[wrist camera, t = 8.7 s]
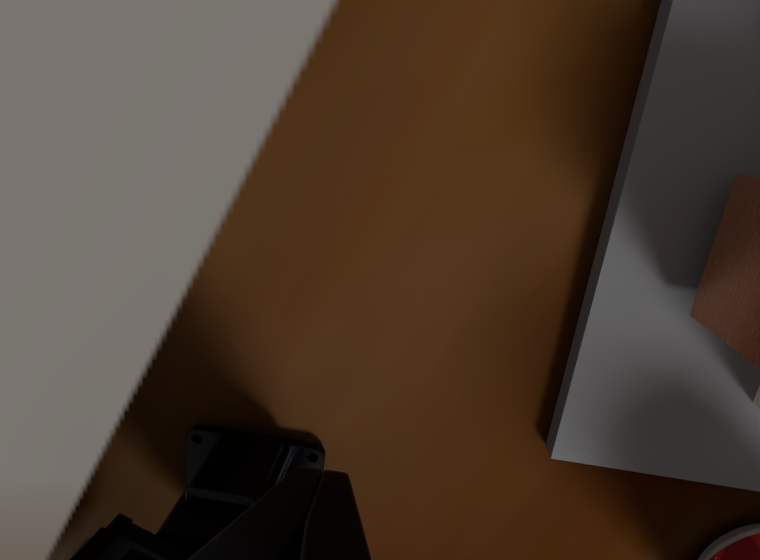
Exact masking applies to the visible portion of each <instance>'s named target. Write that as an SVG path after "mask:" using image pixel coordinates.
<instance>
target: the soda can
mask: <svg viewBox="0 0 760 560" xmlns="http://www.w3.org/2000/svg"><path fill="white" fill-rule="evenodd" d="M698 560H760V523H756V524H750V525H746V526H743V527H740V528H737V529H734V530H732V531H730V532H728V533H726V534H724V535H722V536H721V537H719V538H717V539H716V540H715V541H714V542H712V543H711V544H710V545H709V546H708V547H707V548H706V549H705V550H704V551H703V553H702V554H701V555H700V557H699V558H698Z"/></svg>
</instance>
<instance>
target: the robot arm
mask: <svg viewBox="0 0 760 560" xmlns="http://www.w3.org/2000/svg"><path fill="white" fill-rule="evenodd" d="M196 434H197V435H200V437H201V438H202V439H200V438H198V437H197V436H196ZM310 453H314V454H316V455H317V456H318V457H313V456H311V455H310ZM324 462H325V450H324V448H323V447H322V446H320V445H319V444H316V443H309V442H303V441H297V440H291V439H285V438H279V437H274V436H268V435H262V434H256V433H250V432H243V431H237V430H231V429H223V428H216V427H210V426H204V425H195V426H193V427H192V428H191V430H190V431H189V432H188V433H187V437H186V483H187V488H186V489H185V491H184V492H183V494H182V495H181V497H180V498H179V500H178V501H177V503H176V504H175V506H174V507H173V509H172V510H171V512H170V513H169V515H168V516H167V518H166V519H165V521H164V522H163V524H162V525H161V527H160V528H159V530H158V531H157V533H156V534H153V533H151V532H149V531H147V530H145V529H143V528H141V527H139V526H137V525H135V524H133V523H132V521H133V520H132V519H130V518H128V517H126V516H124V515H122V514H119V515H118V516H117V517H116V518H115V519H114V520H113V521H112V522H111V523H110V524H109V525H108V526H107V527H106V528H103V527H101V528H100V529H99V530H98V531H97V532H96V533H95V534H94V536H93V537H92V538H90V539H86V540H85V541H84V542H83V544H82V545H81V546H80V547H79V548H78V550H77V551H76V552H75V553H74V555H73V556H72V557H71V558H70V559H69V560H371V556H370V552H369V549H368V545H367V541H366V538H365V534H364V530H363V526H362V523H361V519H360V515H359V512H358V508H357V504H356V501H355V497H354V493H353V490H352V486H351V482H350V479H349V476H348V474H347V473H344V472H338V471H332V470H325V471H324Z"/></svg>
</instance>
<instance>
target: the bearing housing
mask: <svg viewBox="0 0 760 560" xmlns="http://www.w3.org/2000/svg"><path fill="white" fill-rule="evenodd" d="M736 174H741V175H749V176H757V177H760V0H661V3H660V7H659V11H658V15H657V19H656V22H655V26H654V30H653V34H652V38H651V42H650V46H649V49H648V53H647V57H646V61H645V65H644V69H643V72H642V76H641V80H640V84H639V88H638V92H637V95H636V99H635V103H634V107H633V111H632V115H631V119H630V122H629V126H628V130H627V134H626V138H625V142H624V145H623V149H622V153H621V157H620V161H619V165H618V169H617V172H616V176H615V180H614V184H613V188H612V192H611V195H610V199H609V203H608V207H607V211H606V215H605V219H604V222H603V226H602V230H601V234H600V238H599V242H598V245H597V249H596V253H595V257H594V261H593V265H592V269H591V272H590V276H589V280H588V284H587V288H586V292H585V295H584V299H583V303H582V307H581V311H580V315H579V319H578V322H577V326H576V330H575V334H574V338H573V342H572V345H571V349H570V353H569V357H568V361H567V365H566V369H565V372H564V376H563V380H562V384H561V388H560V392H559V395H558V399H557V403H556V407H555V411H554V415H553V418H552V422H551V426H550V430H549V434H548V438H547V442H546V446H547V449H548V452H549V455H550V457H551V459H557V460H564V461H570V462H576V463H582V464H589V465H595V466H601V467H608V468H614V469H620V470H627V471H633V472H639V473H645V474H652V475H658V476H664V477H671V478H677V479H683V480H689V481H696V482H702V483H708V484H715V485H721V486H727V487H734V488H740V489H746V490H752V491H759V492H760V368H758V367H757V366H756V365H754V364H753V363H752V362H750V361H749V360H748V359H746V358H745V357H744V356H742V355H741V354H740V353H739V352H737V351H736V350H735V349H733V348H732V347H731V346H729V345H728V344H727V343H725V342H724V341H723V340H721V339H720V338H719V337H717V336H716V335H715V334H713V333H712V332H711V331H709V330H708V329H707V328H705V327H704V326H703V325H702V324H700V323H699V322H698V321H696V320H695V319H694V318H692V317H691V316H690V315H689V314H690V311H691V308H692V305H693V302H694V299H695V296H696V293H697V290H698V287H699V284H700V281H701V278H702V275H703V272H704V269H705V266H706V263H707V260H708V257H709V254H710V251H711V248H712V245H713V242H714V239H715V236H716V233H717V230H718V227H719V224H720V221H721V218H722V215H723V212H724V209H725V206H726V203H727V200H728V197H729V194H730V191H731V188H732V185H733V182H734V179H735V176H736Z"/></svg>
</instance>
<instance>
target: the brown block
mask: <svg viewBox="0 0 760 560" xmlns="http://www.w3.org/2000/svg"><path fill="white" fill-rule="evenodd" d="M689 315H690V316H691V317H692V318H694V319H695V320H696V321H698V322H699V323H700V324H702V325H703V326H704V327H705V328H707V329H708V330H709V331H711V332H712V333H713V334H715V335H716V336H717V337H719V338H720V339H721V340H723V341H724V342H725V343H727V344H728V345H729V346H731V347H732V348H733V349H735V350H736V351H737V352H739V353H740V354H741V355H742V356H744V357H745V358H746V359H748V360H749V361H750V362H752V363H753V364H754V365H756V366H757V367H758V368H760V177H757V176H749V175H741V174H736V176H735V179H734V182H733V185H732V188H731V191H730V194H729V197H728V200H727V203H726V206H725V209H724V212H723V215H722V218H721V221H720V224H719V227H718V230H717V233H716V236H715V239H714V242H713V245H712V248H711V251H710V254H709V257H708V260H707V263H706V266H705V269H704V272H703V275H702V278H701V281H700V284H699V287H698V290H697V293H696V296H695V299H694V302H693V305H692V308H691V311H690V314H689Z"/></svg>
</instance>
